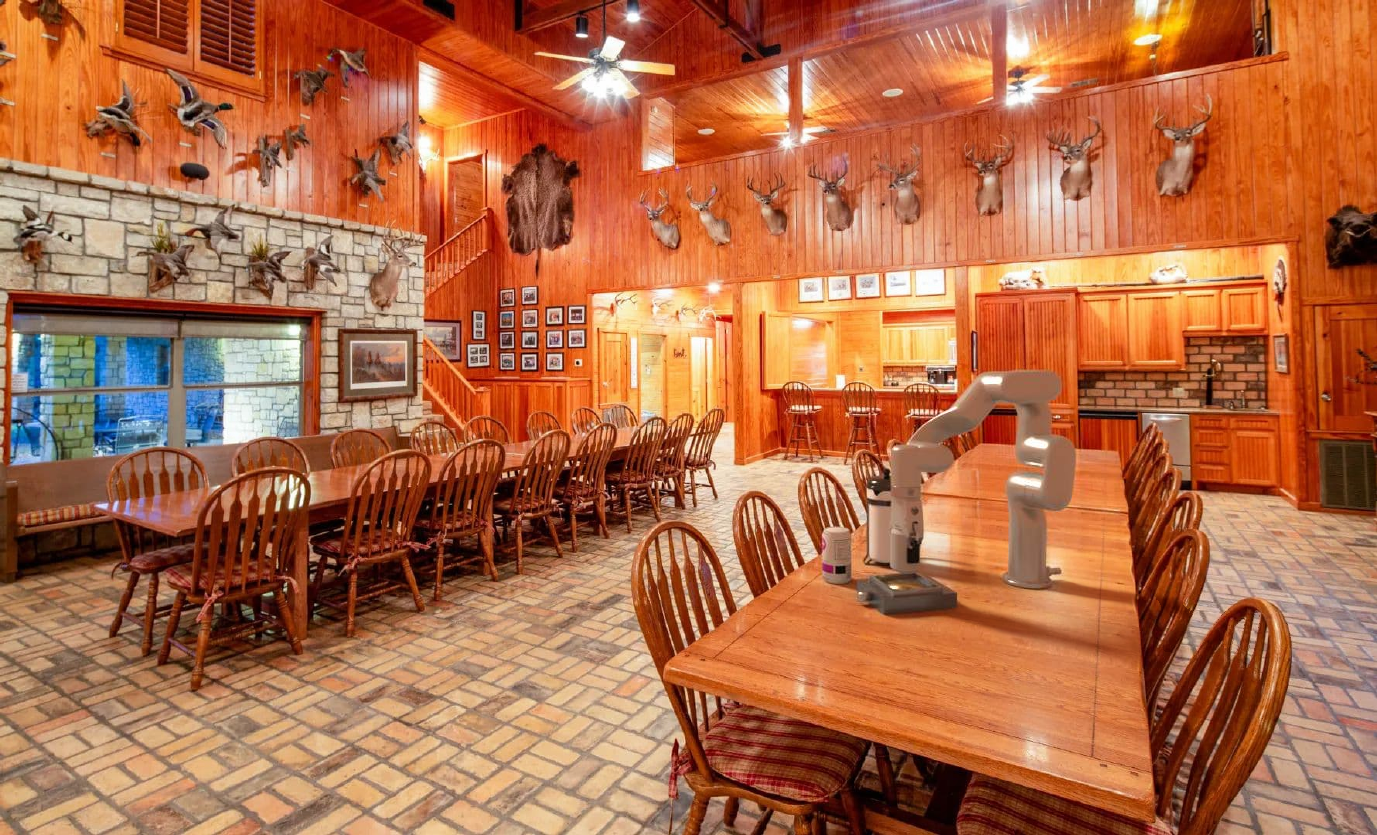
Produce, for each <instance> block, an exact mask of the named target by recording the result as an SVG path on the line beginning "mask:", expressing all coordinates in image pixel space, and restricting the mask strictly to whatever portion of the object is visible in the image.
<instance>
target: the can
mask: <svg viewBox="0 0 1377 835" xmlns="http://www.w3.org/2000/svg"><path fill="white" fill-rule="evenodd" d="M893 527H894V528H893V529H892V530H891V532H890V563H889V567H890V568H891V569H892V570H893V571H894V572H896V573H904V574H911V573H916V572H919V570H920V569H921V547H920V548H919V563H912V564H908V563H907V548H909V547H908V543H907V538H906V537H904V534H903V533H902V531H901V528H897V527H895V525H893ZM910 536H916V535H915V533H910ZM913 540H915V539H911V542H913Z"/></svg>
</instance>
